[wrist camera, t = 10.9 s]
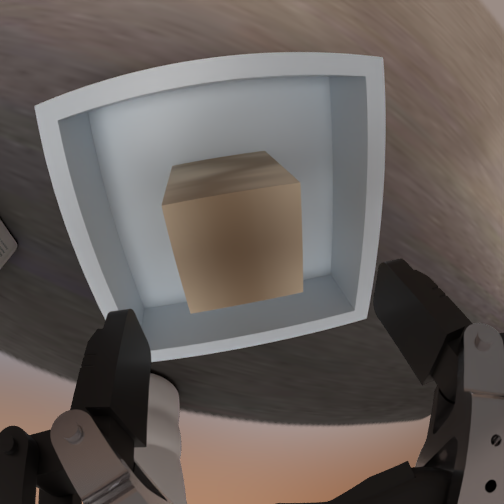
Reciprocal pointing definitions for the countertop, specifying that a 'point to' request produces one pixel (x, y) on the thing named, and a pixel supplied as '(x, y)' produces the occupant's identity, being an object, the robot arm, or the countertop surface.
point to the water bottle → (163, 440)
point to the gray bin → (213, 146)
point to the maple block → (235, 230)
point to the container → (6, 244)
